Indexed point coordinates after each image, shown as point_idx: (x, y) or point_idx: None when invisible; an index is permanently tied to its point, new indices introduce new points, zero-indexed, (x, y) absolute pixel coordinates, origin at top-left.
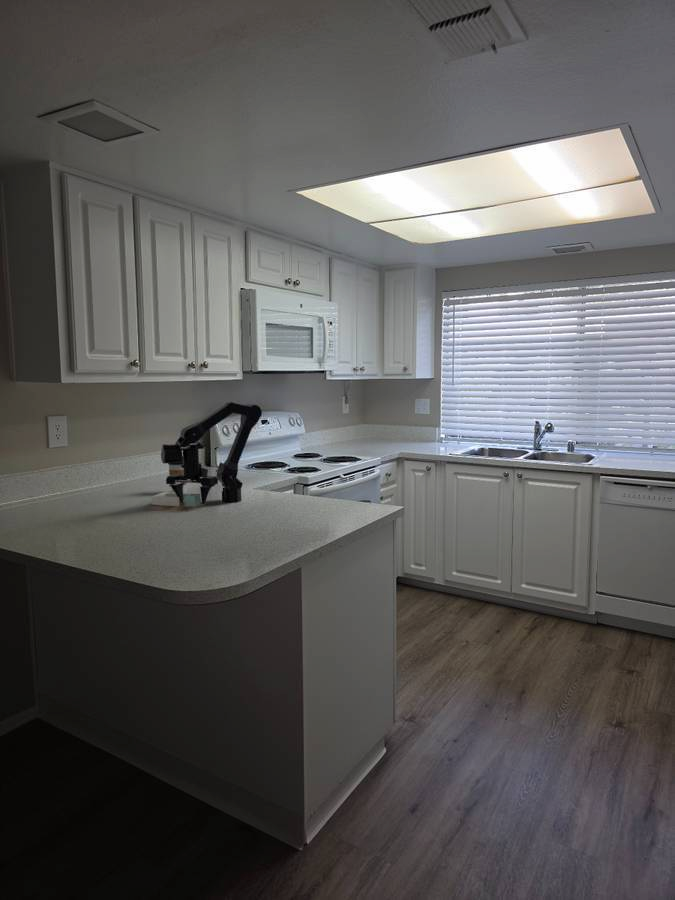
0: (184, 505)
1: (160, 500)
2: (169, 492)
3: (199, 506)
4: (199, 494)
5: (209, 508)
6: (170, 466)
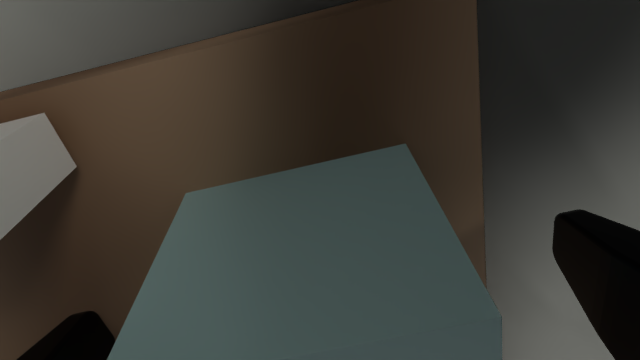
0: None
1: None
2: None
3: (482, 257)
4: (497, 349)
5: (596, 116)
6: None
